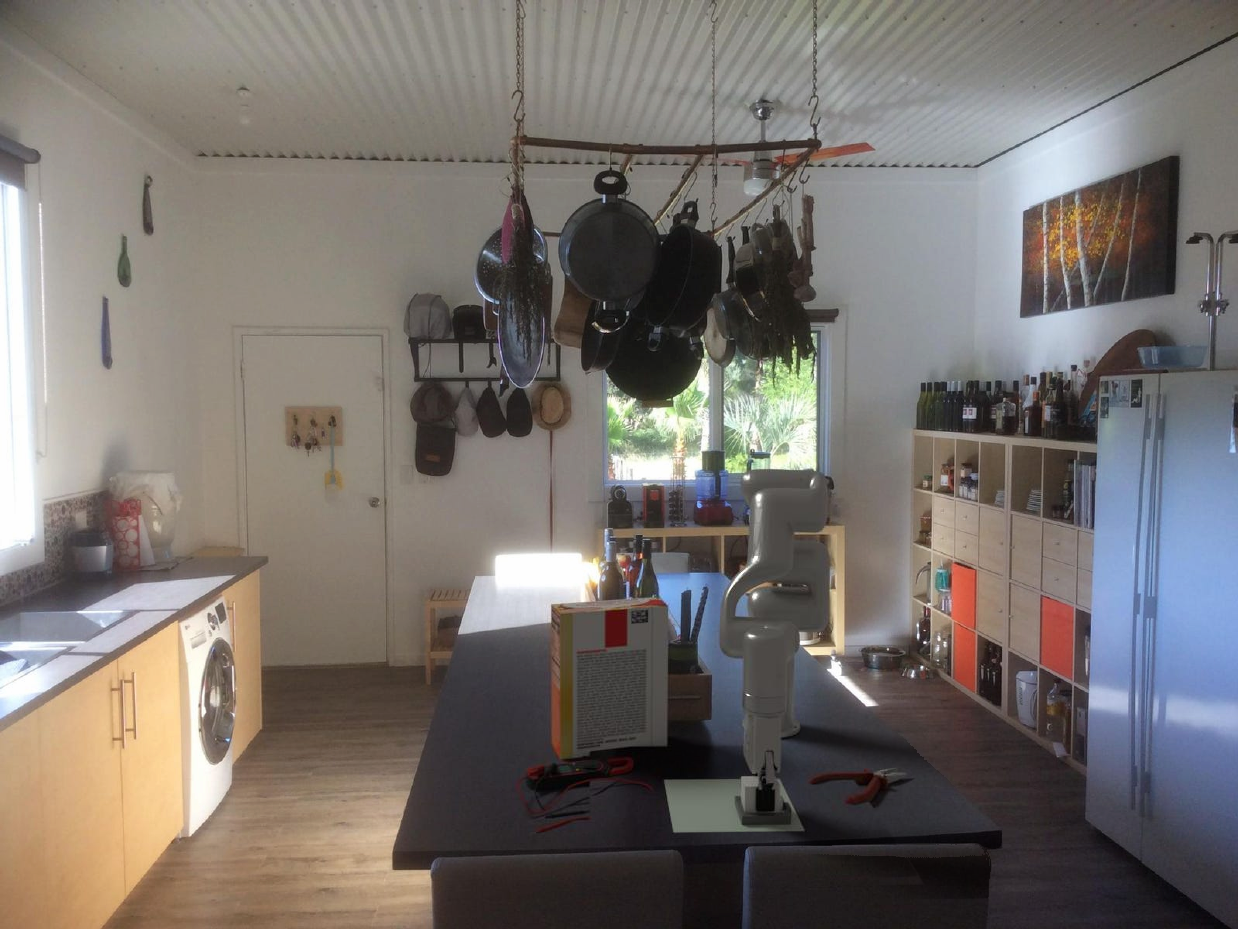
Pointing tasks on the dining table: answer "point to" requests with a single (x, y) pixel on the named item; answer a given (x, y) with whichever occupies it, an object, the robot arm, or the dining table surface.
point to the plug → (749, 795)
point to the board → (715, 807)
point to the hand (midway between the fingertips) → (762, 803)
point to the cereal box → (608, 675)
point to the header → (764, 815)
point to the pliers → (864, 782)
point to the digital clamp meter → (573, 780)
